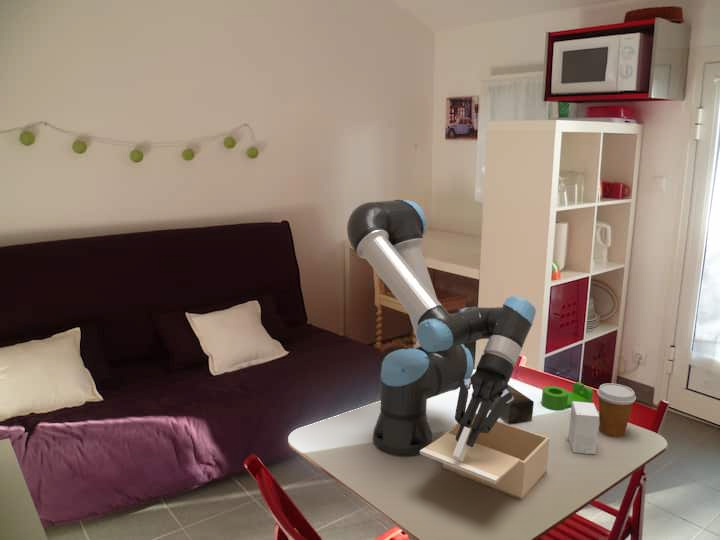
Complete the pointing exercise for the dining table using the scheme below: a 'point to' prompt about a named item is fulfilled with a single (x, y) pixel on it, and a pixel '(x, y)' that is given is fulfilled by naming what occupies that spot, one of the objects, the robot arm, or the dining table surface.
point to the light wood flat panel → (471, 458)
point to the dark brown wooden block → (517, 407)
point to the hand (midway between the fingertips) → (457, 458)
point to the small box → (583, 427)
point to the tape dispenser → (565, 396)
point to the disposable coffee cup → (614, 408)
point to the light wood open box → (517, 445)
